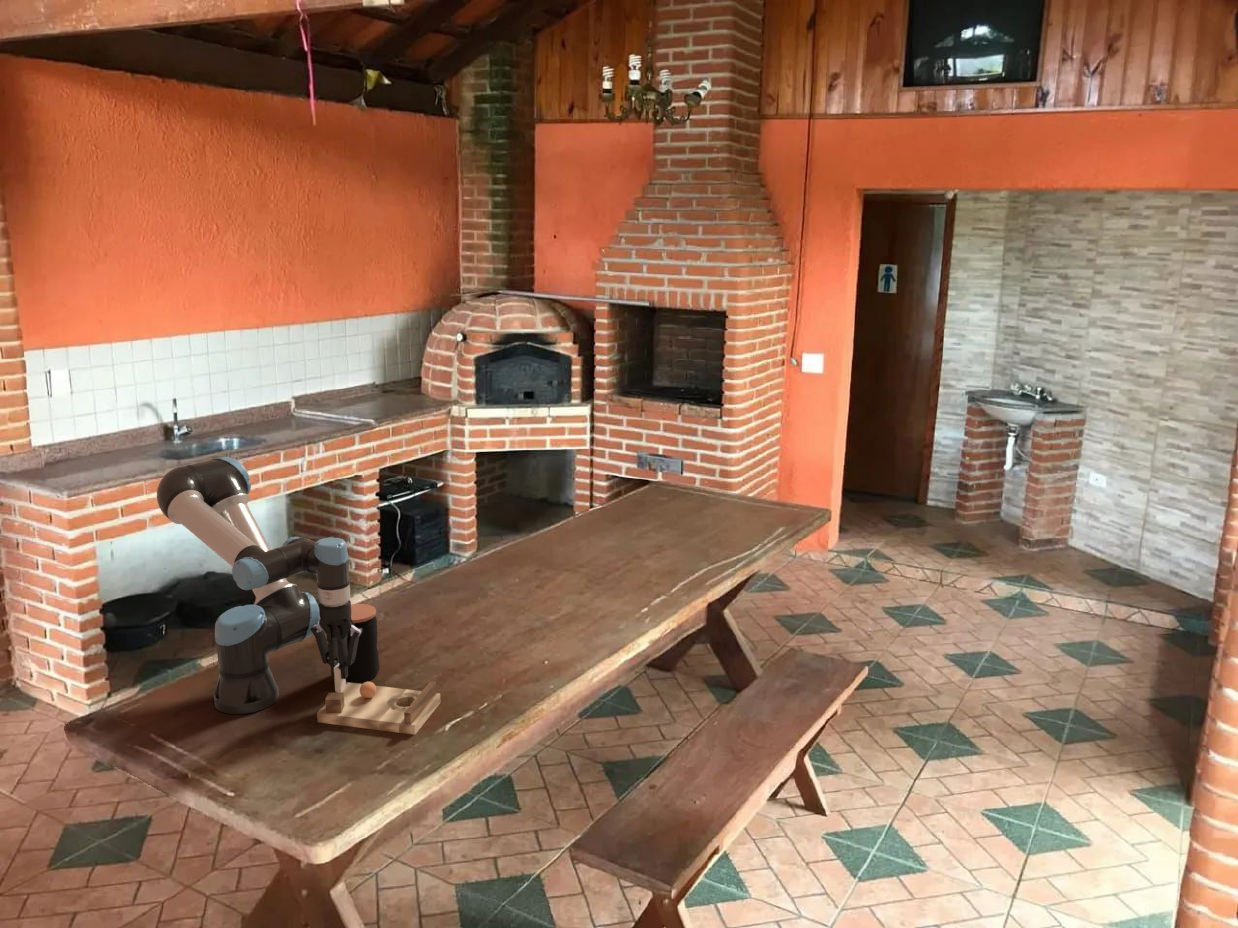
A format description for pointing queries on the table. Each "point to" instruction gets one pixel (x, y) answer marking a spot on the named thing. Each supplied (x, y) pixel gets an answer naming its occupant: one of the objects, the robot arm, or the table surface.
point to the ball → (367, 689)
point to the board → (385, 709)
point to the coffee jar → (364, 644)
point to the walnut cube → (334, 702)
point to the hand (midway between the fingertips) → (340, 689)
